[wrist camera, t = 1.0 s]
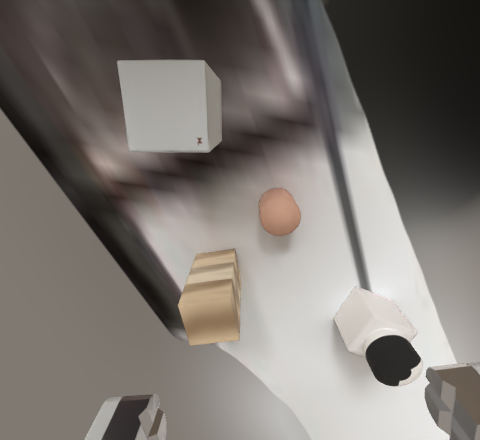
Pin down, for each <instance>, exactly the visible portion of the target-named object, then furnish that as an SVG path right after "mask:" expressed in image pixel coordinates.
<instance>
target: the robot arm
mask: <svg viewBox="0 0 480 440" xmlns="http://www.w3.org/2000/svg"><path fill="white" fill-rule="evenodd" d="M426 378H427V379H428V381H429V382H430V383H429V385H428V386H427V387H426V388H425V400H426V404H427V407H428V410H429V412H430V414H431V416H432V418H433V419H434V421H435V423H436V424H437V426H438V427H439V428H441V429H442V430H443V431H445V432H446V433H447V434H449V435H450V438H449V440H480V362H477V363H468V364H464V363H462V364H453V365H444V366H435V367H429V368H428V369H427V370H426ZM159 403H160V401H159V398H158V396H157V394H153V395H137V396H122V397H110V398H108V399H107V400H106V401H105V402H104V403H103V405H102V407H101V409H100V411H99V413H98V415H97V417H96V419H95V421H94V422H93V424H92V426H91V428H90V430H89V432H88V434H87V436H86V438H85V440H165V437H166V426H167V425H166V417H165V415H164V412H163V411H162V410H160V409H159V408H158V406H159Z"/></svg>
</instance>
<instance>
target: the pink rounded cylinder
mask: <svg viewBox="0 0 480 440" xmlns="http://www.w3.org/2000/svg"><path fill="white" fill-rule="evenodd" d="M259 211H260V219H261V223H262V226H263V228H264V229H265V230H266V231H267V232H269V233H270V234H273V235H277V236H283V235H287V234H289V233H291V232H293V231H294V230H295V229H296V228H297V226H298V225H299V223H300V218H301V214H300V210H299V208H298V206H297V204H296V203H295V201H294V199H293V197H292V196H291V194H290V193H289V192H288V191H286V190H284V189H281V188H274V189H270V190H268V191H267V192H265V193H264V194H263V195H262V197H261V199H260V201H259Z"/></svg>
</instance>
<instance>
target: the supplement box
mask: <svg viewBox="0 0 480 440" xmlns="http://www.w3.org/2000/svg"><path fill="white" fill-rule="evenodd" d="M117 65H118V72H119V79H120V86H121V93H122V100H123V108H124V117H125V125H126V134H127V142H128V150H129V151H130V152H172V153H174V152H205V153H209V152H210V151H211V150H212V149H213V148H215V147H216V146H217V145H218V144H219V143H220V142H221V141H222V99H221V80H220V79H219V78H218V77H217V75H216V74H215V73H214V72H213V70H212V69H211V68H210V67H209V66H208V65H207V63H206V62H205V61H204V60H120V61H117Z"/></svg>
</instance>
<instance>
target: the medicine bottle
mask: <svg viewBox="0 0 480 440" xmlns="http://www.w3.org/2000/svg"><path fill="white" fill-rule="evenodd" d="M334 320H335V322H336V325H337V327H338V329H339V332H340V334H341V336H342V339H343V341H344V343H345V346H346V348H347V350H348V351H349V352H351V353H354V354H357V355H359V356H362V357H365V358H366V360H367V362H368V364H369V366H370V368H371V370H372V372H373V374H374V376H375V378H376V379H377V380H378V381H380V382H381V383H383V384H385V385H389V386H402V385H406V384H409V383H411V382H412V381H414V380H415V379H417V378H418V376H419V375H420V374H421V371H422V367H423V362H422V359H421V358H420V356H419V355H418V354H417V352H416V351H415V349H414V348H413V347H412V345H411V344H410V341H411V340H412V339H413V338H414V336H415V335H416V334H417V330H416V329H415V328H414V327H413V325H412V324H411V323H410V322H409V320H408V319H407V318H406V317H405V315H404V314H403V313H402V311H401V310H400V309H399V308H398V306H397V305H396V304H395V303H394V301H393V300H391V299H388V298H386V297H383V296H380V295H378V294H375V293H373V292H370V291H368V290H365V289H363V288H360V287H358V286H356V287H354V289H353V290H352V292H351V293H350V295H349V296H348V297H347V299H346V300H345V302H344V303H343V305H342V306H341V307H340V309H339V310H338V312H337V313H336V315H335V316H334Z"/></svg>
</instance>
